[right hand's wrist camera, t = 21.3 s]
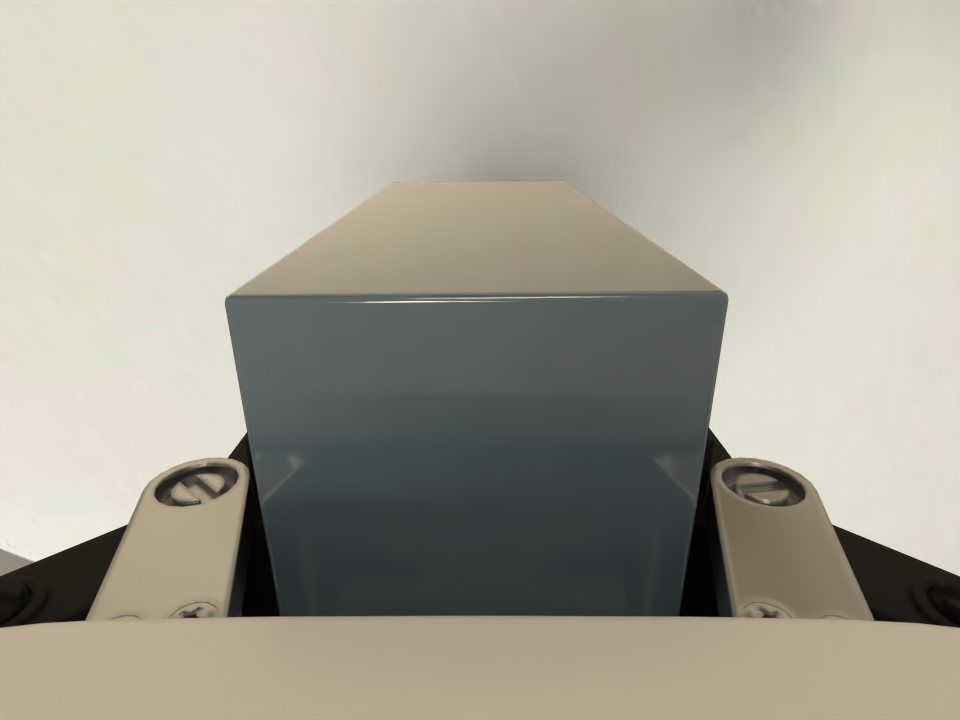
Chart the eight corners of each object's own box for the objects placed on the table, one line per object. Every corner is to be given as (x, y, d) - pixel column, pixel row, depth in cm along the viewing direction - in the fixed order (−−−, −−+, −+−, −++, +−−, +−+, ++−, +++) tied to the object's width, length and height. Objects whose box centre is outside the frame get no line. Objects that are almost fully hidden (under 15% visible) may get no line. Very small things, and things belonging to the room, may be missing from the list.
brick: (406, 431, 19) (312, 820, 8) (390, 181, 16) (219, 296, 6) (555, 430, 19) (650, 819, 8) (566, 180, 16) (733, 292, 6)
